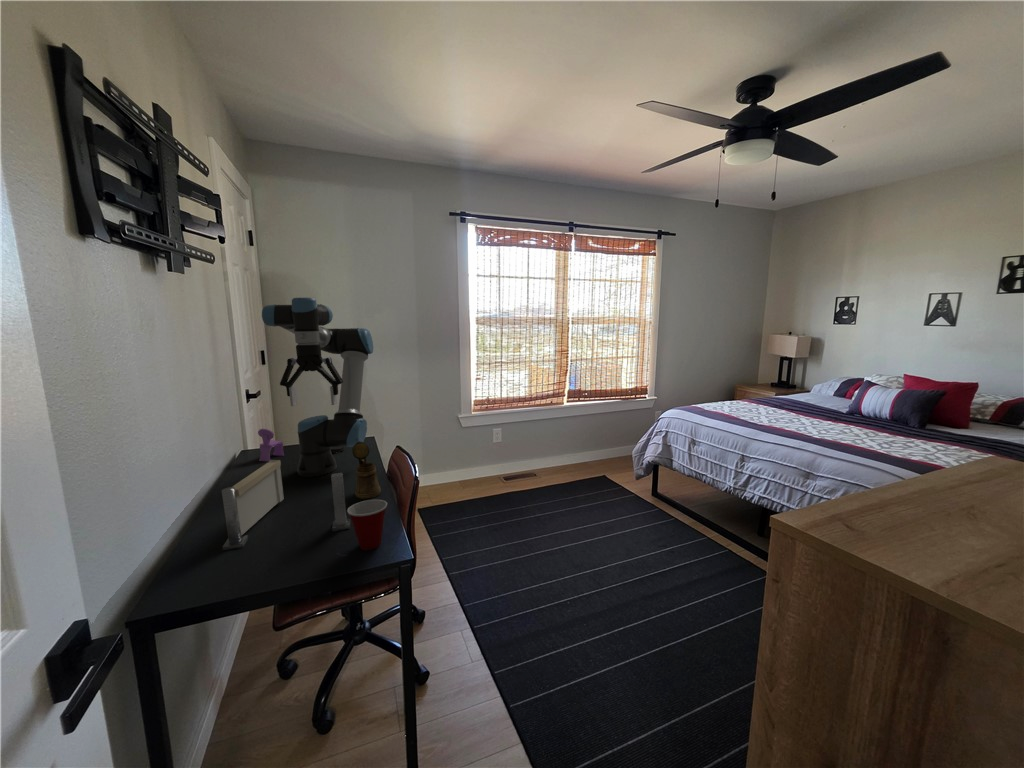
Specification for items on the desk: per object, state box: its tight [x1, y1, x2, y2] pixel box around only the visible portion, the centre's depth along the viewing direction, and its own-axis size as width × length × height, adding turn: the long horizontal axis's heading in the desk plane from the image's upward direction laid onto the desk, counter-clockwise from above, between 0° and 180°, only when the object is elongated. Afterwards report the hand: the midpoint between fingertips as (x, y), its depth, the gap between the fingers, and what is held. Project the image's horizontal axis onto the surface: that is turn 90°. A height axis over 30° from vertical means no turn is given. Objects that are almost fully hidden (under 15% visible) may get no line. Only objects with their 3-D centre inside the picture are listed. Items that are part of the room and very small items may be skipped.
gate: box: [231, 459, 285, 536], centre depth 129 cm, size 3×24×14 cm, turn 4°
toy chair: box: [257, 428, 285, 463], centre depth 187 cm, size 8×9×15 cm
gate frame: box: [221, 472, 351, 551], centre depth 120 cm, size 5×34×17 cm, turn 110°
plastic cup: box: [346, 499, 388, 551], centre depth 115 cm, size 11×11×12 cm
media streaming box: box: [330, 447, 345, 454], centre depth 199 cm, size 15×15×3 cm
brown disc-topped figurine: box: [352, 441, 382, 500], centre depth 149 cm, size 9×14×18 cm, turn 33°
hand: (314, 404), depth 140 cm, fingers open, 13 cm apart
